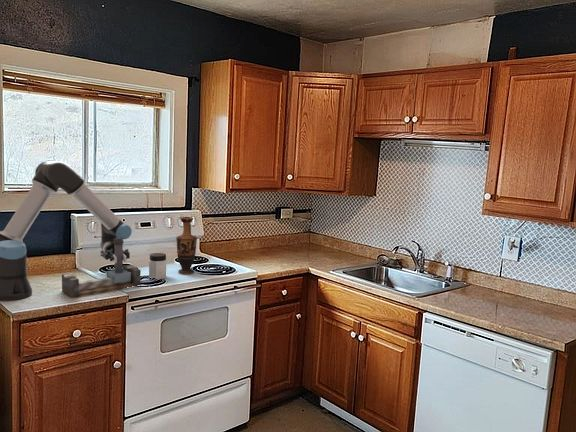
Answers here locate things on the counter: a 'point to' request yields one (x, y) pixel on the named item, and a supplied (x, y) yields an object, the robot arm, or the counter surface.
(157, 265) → the jar
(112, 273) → the carriage
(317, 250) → the counter surface
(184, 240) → the vase
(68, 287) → the rail
